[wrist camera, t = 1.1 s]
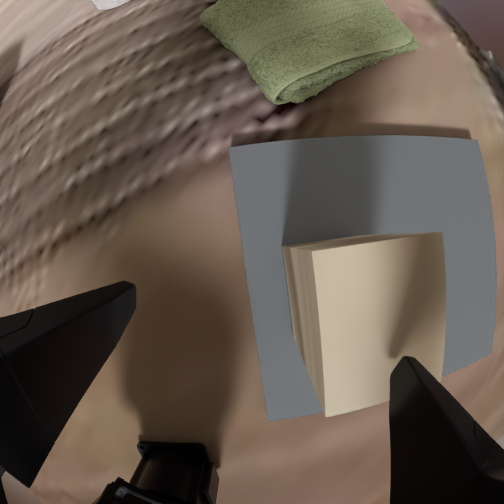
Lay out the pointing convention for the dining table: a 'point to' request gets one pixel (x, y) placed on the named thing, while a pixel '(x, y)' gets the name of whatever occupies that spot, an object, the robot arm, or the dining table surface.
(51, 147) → the dining table surface
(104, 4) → the white cup
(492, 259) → the rubber pad
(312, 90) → the washcloth
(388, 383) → the maple block
